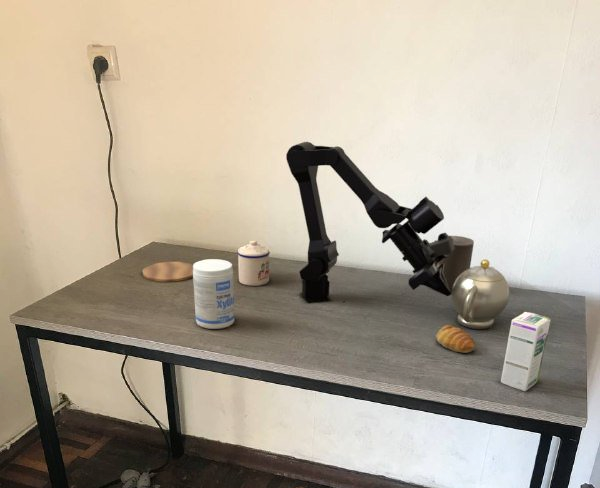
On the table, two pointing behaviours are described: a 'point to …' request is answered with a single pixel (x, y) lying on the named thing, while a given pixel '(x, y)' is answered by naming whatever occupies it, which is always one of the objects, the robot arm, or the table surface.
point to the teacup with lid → (253, 264)
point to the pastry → (455, 339)
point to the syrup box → (525, 350)
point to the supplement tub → (213, 293)
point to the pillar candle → (457, 259)
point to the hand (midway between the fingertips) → (449, 294)
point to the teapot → (479, 296)
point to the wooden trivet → (168, 271)
